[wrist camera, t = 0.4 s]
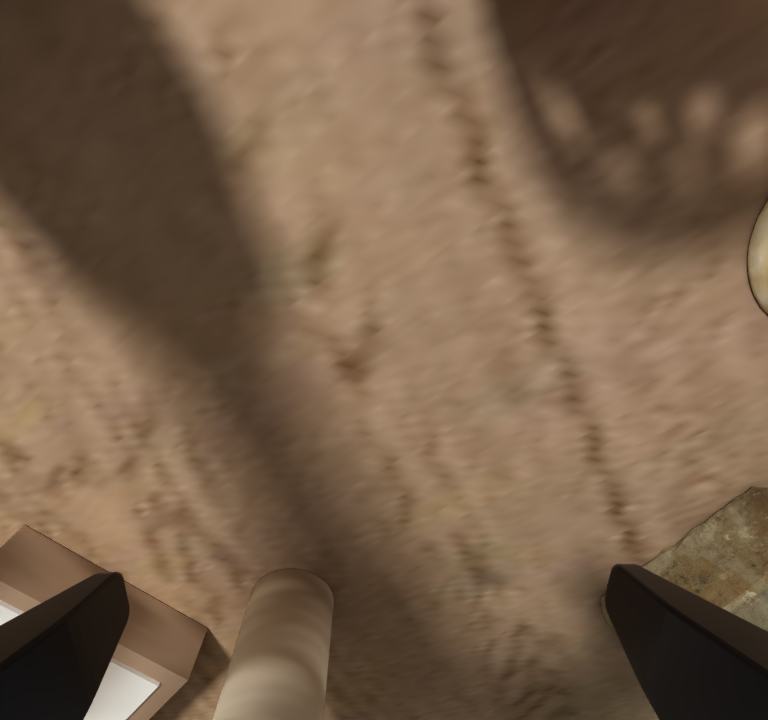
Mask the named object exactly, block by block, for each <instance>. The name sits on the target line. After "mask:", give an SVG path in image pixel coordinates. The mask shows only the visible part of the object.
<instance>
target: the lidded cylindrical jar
mask: <svg viewBox="0 0 768 720" xmlns="http://www.w3.org/2000/svg"><path fill="white" fill-rule="evenodd" d="M333 607H334V598H333V594H332V592H331V589H330V588H329V586H328V585H327V584H326V583H325V582H324V581H323V580H322V579H321V578H319V577H318V576H316V575H315V574H313V573H310V572H308V571H304V570H299V569H281V570H277V571H274V572H271V573H269V574H267V575H265V576H264V577H262V578H261V579H260V580H259V581H258V582H257V583H256V584H255V586H254V587H253V589H252V592H251V595H250V598H249V601H248V605H247V608H246V611H245V615H244V618H243V621H242V625H241V628H240V631H239V635H238V638H237V641H236V645H235V648H234V651H233V655H232V658H231V661H230V665H229V668H228V671H227V675H226V678H225V681H224V685H223V688H222V691H221V694H220V698H219V701H218V704H217V708H216V711H215V714H214V718H213V720H323V718H324V707H325V696H326V684H327V673H328V662H329V651H330V640H331V629H332V618H333Z"/></svg>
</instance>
